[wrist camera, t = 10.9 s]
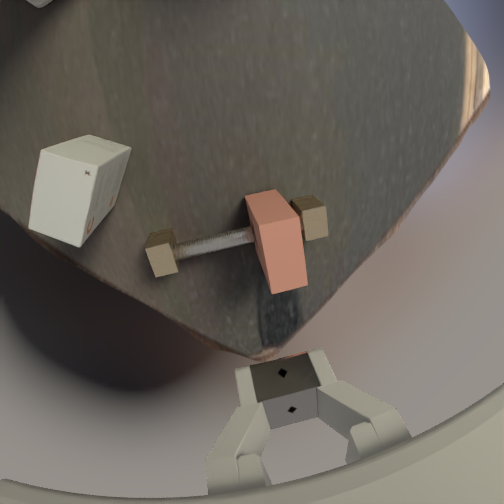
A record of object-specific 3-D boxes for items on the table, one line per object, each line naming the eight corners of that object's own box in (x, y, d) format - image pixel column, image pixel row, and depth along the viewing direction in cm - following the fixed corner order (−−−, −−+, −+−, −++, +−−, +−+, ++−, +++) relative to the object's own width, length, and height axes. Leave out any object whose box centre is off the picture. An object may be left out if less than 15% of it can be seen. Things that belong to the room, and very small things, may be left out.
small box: (88, 133, 32) (39, 147, 21) (133, 147, 34) (100, 165, 23) (73, 192, 35) (26, 229, 24) (115, 206, 37) (81, 249, 26)
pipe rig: (159, 259, 41) (155, 277, 37) (150, 233, 39) (144, 249, 35) (315, 222, 42) (328, 235, 38) (312, 194, 40) (325, 205, 36)
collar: (256, 251, 42) (272, 294, 33) (244, 196, 39) (258, 225, 29) (284, 244, 43) (307, 285, 33) (275, 189, 39) (299, 216, 30)
